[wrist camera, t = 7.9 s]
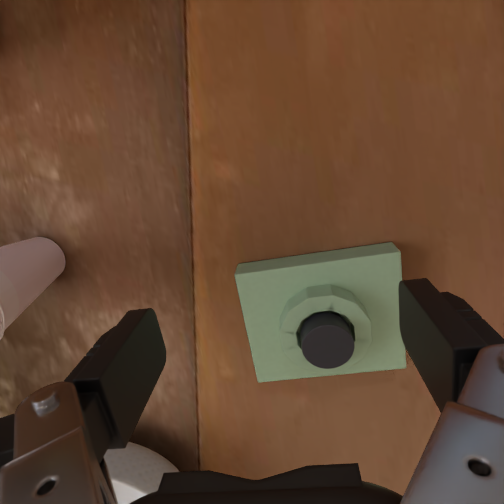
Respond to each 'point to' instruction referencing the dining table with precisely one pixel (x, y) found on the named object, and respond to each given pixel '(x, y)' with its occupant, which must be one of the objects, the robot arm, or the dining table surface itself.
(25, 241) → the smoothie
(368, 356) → the block
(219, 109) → the dining table surface
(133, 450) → the cereal bowl
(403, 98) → the dining table surface
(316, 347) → the button
